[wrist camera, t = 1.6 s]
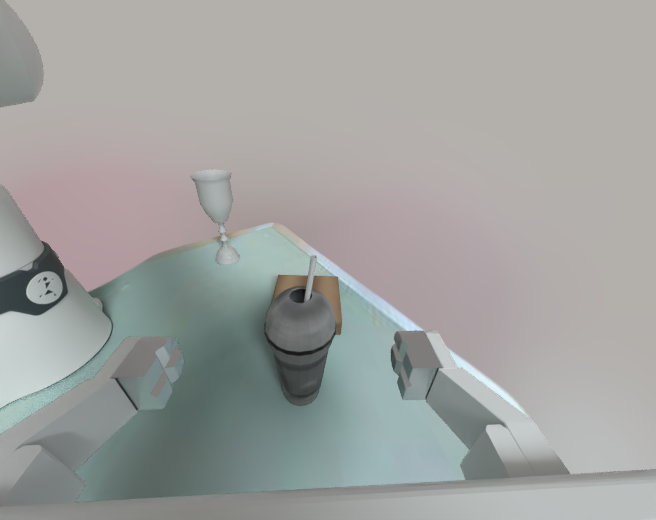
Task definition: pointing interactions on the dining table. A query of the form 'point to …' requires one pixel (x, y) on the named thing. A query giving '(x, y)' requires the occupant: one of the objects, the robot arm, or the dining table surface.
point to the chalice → (217, 206)
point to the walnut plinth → (320, 283)
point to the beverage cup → (300, 338)
